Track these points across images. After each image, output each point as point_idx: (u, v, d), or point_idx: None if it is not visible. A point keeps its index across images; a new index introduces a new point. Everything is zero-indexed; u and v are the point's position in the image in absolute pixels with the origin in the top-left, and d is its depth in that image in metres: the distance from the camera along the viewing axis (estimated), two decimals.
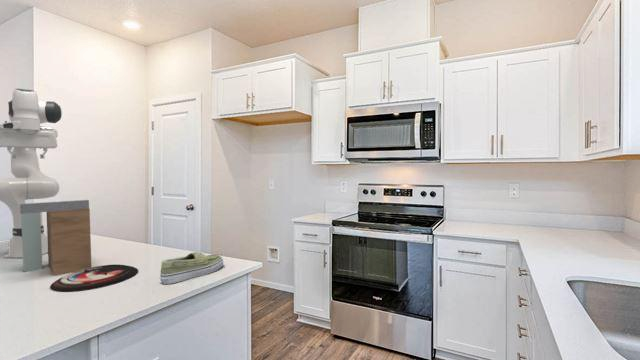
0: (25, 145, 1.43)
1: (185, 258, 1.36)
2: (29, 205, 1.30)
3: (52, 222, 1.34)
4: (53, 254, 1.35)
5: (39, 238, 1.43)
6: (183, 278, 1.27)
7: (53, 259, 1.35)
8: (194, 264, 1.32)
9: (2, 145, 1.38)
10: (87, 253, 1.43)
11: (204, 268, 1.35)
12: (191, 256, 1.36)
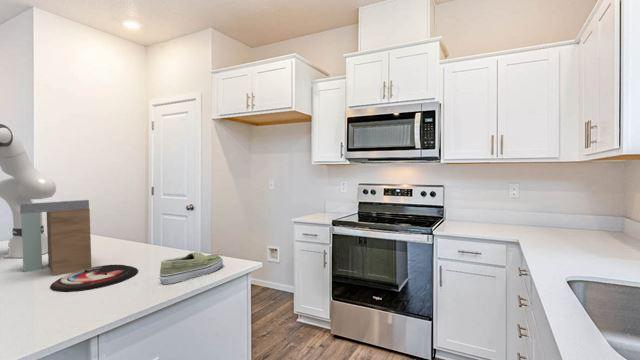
0: None
1: (184, 258, 1.36)
2: (29, 205, 1.30)
3: (52, 222, 1.34)
4: (53, 254, 1.35)
5: (39, 238, 1.43)
6: (183, 278, 1.27)
7: (53, 259, 1.35)
8: (194, 264, 1.32)
9: None
10: (87, 253, 1.43)
11: (204, 268, 1.34)
12: (191, 256, 1.36)
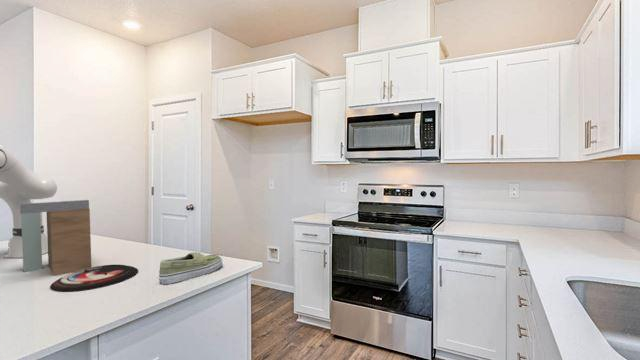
0: None
1: (184, 258, 1.36)
2: (29, 205, 1.30)
3: (52, 222, 1.34)
4: (53, 254, 1.35)
5: (39, 238, 1.43)
6: (182, 278, 1.27)
7: (53, 259, 1.35)
8: (193, 264, 1.32)
9: None
10: (87, 253, 1.43)
11: (203, 268, 1.34)
12: (190, 256, 1.36)
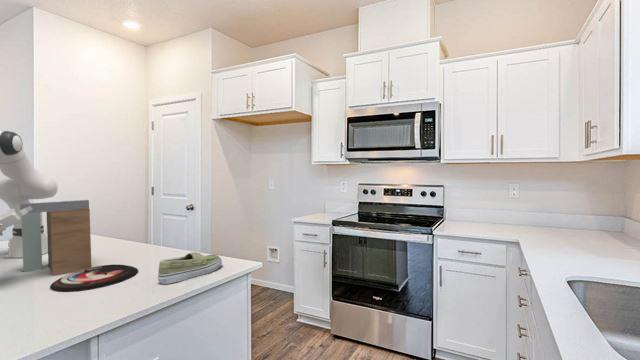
0: None
1: (183, 258, 1.36)
2: (29, 205, 1.30)
3: (52, 222, 1.34)
4: (53, 254, 1.35)
5: (39, 238, 1.43)
6: (181, 278, 1.27)
7: (53, 259, 1.35)
8: (192, 264, 1.32)
9: None
10: (87, 253, 1.43)
11: (203, 268, 1.34)
12: (189, 256, 1.36)
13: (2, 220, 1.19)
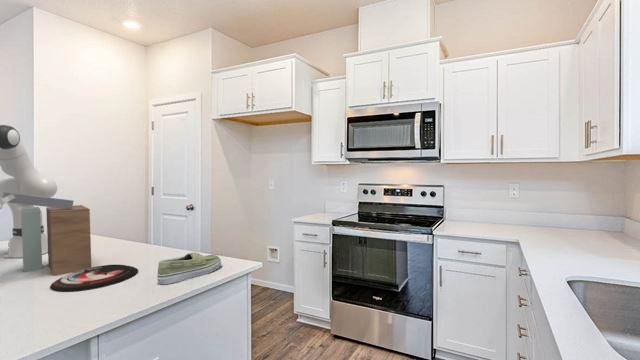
0: None
1: (182, 258, 1.35)
2: None
3: (52, 222, 1.34)
4: (53, 254, 1.35)
5: (39, 238, 1.43)
6: (180, 278, 1.27)
7: (53, 259, 1.35)
8: (191, 264, 1.32)
9: None
10: (87, 253, 1.43)
11: (202, 268, 1.34)
12: (188, 256, 1.36)
13: None
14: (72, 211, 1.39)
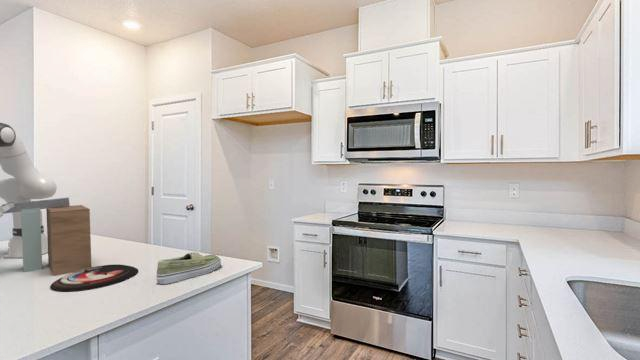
0: None
1: (182, 258, 1.35)
2: None
3: (52, 222, 1.34)
4: (53, 254, 1.35)
5: (39, 238, 1.43)
6: (179, 278, 1.27)
7: (53, 259, 1.35)
8: (191, 264, 1.32)
9: None
10: (87, 253, 1.43)
11: (201, 268, 1.34)
12: (188, 256, 1.36)
13: None
14: (72, 211, 1.39)
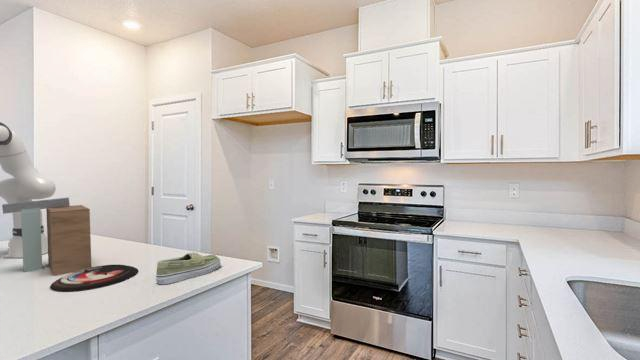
0: None
1: (182, 258, 1.35)
2: (11, 205, 1.38)
3: (52, 222, 1.34)
4: (53, 254, 1.35)
5: (39, 238, 1.43)
6: (179, 279, 1.27)
7: (53, 259, 1.35)
8: (190, 265, 1.31)
9: None
10: (87, 253, 1.43)
11: (201, 268, 1.34)
12: (188, 257, 1.36)
13: None
14: (72, 211, 1.39)
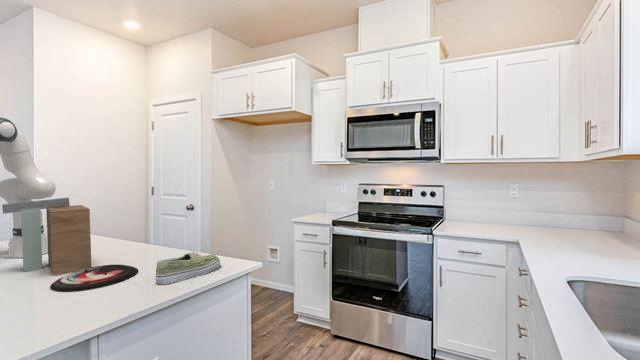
0: None
1: (181, 258, 1.35)
2: (11, 205, 1.38)
3: (52, 222, 1.34)
4: (53, 254, 1.35)
5: (39, 238, 1.43)
6: (178, 279, 1.27)
7: (53, 259, 1.35)
8: (190, 265, 1.31)
9: None
10: (87, 253, 1.43)
11: (200, 268, 1.34)
12: (187, 256, 1.36)
13: None
14: (72, 211, 1.39)
